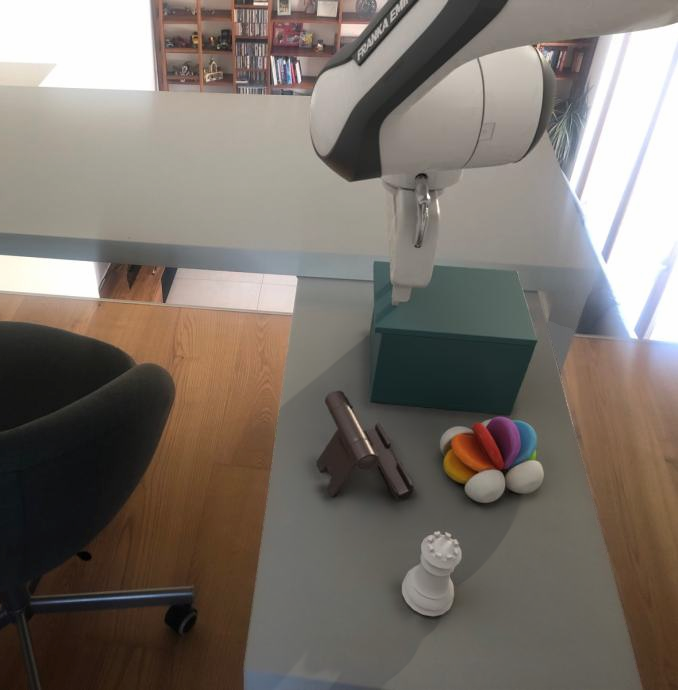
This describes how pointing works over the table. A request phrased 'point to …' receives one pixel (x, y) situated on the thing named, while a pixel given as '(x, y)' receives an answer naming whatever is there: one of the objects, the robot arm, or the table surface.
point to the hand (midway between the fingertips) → (398, 271)
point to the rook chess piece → (433, 576)
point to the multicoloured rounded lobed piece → (492, 458)
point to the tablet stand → (359, 450)
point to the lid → (456, 306)
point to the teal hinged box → (446, 372)
